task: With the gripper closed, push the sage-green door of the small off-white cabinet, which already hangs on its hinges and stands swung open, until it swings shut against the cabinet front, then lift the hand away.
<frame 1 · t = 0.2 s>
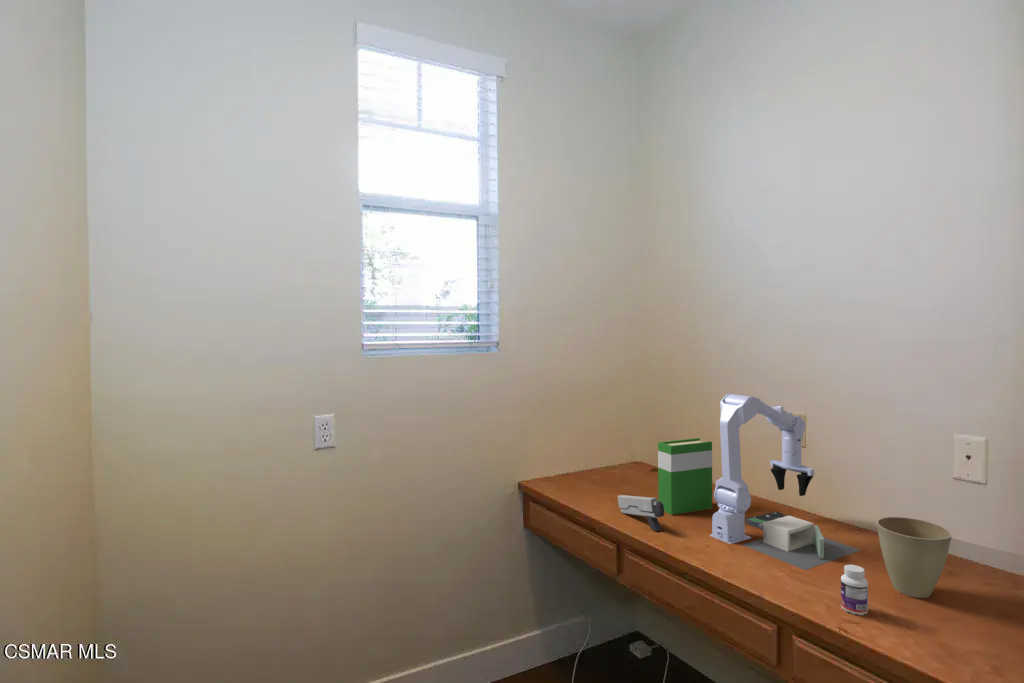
hand: (791, 492, 186), 10 cm above the table, tool pointing down, fingers open, 7 cm apart
gun: (640, 522, 189), on the table
cabinet: (788, 542, 168), resting on mat
plant pot: (912, 592, 138), on the table
cabinet door: (820, 541, 161), point 3 cm above the table, hinge at 40.0°
disk drive: (774, 527, 183), on the table
hardback book: (685, 509, 201), on the table
mat: (800, 548, 164), on the table
pill bottle: (854, 610, 129), on the table
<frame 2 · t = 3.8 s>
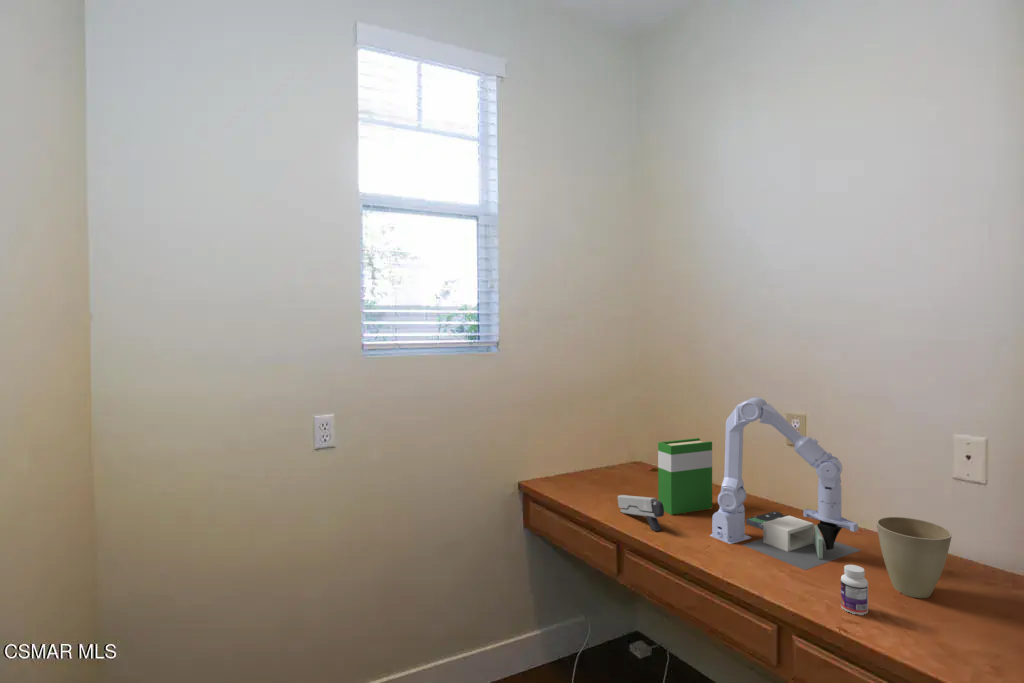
hand: (829, 549, 158), 2 cm above the table, tool pointing down, fingers closed
cabinet door: (819, 541, 161), point 3 cm above the table, hinge at 38.5°, touching gripper
everything else where it was.
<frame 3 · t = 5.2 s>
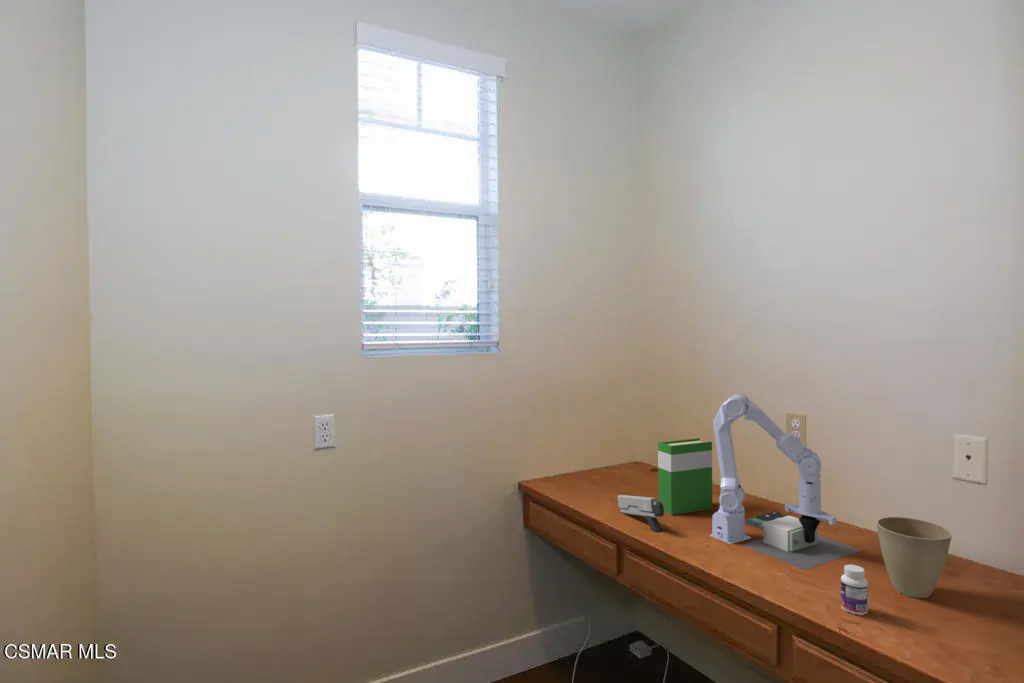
hand: (809, 542, 163), 3 cm above the table, tool pointing down, fingers closed
cabinet door: (805, 538, 163), point 3 cm above the table, hinge at -0.8°, touching gripper
everything else where it was.
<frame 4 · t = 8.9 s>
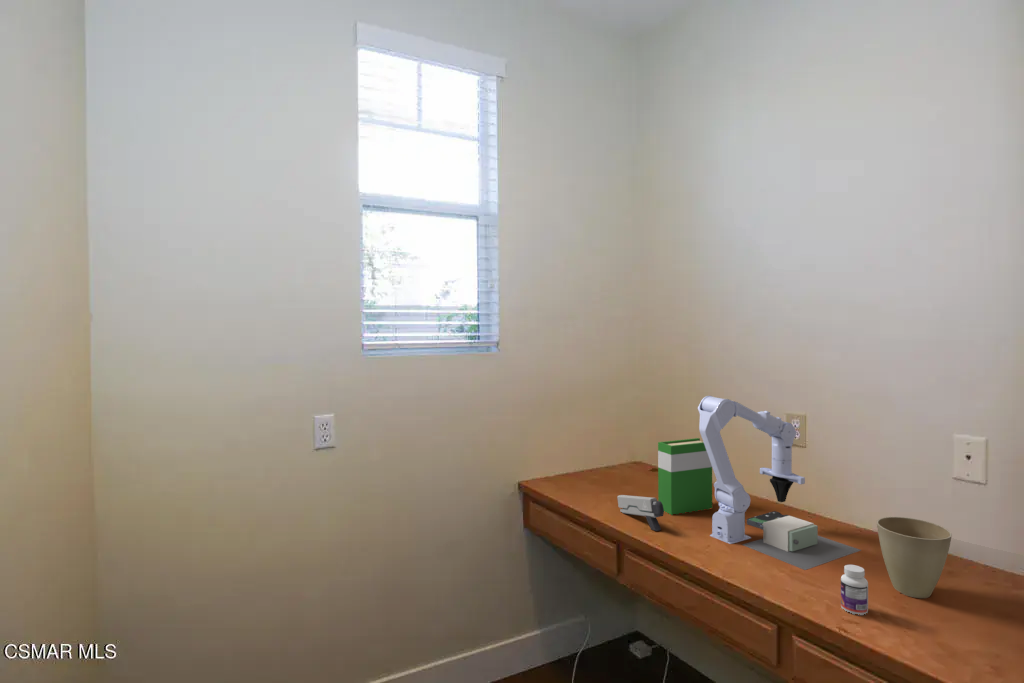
hand: (781, 501, 178), 9 cm above the table, tool pointing down, fingers closed
cabinet door: (805, 538, 163), point 3 cm above the table, hinge at -0.7°
everything else where it was.
at the end: cabinet door at -1° (first picture: +40°) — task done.
